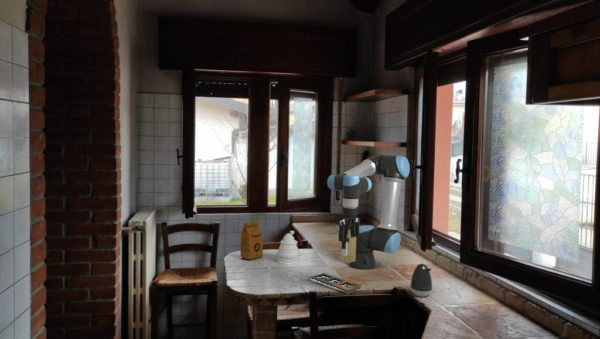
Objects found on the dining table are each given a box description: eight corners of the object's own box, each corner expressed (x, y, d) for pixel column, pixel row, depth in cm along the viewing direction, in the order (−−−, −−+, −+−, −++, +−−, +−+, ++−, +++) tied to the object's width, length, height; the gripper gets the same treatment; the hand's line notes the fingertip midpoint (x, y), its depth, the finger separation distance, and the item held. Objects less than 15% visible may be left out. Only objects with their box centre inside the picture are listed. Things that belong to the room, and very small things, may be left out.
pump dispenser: (421, 300, 214) (423, 268, 213) (405, 293, 223) (406, 262, 222) (436, 296, 220) (438, 265, 219) (419, 289, 229) (421, 259, 227)
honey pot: (300, 258, 277) (300, 229, 275) (297, 265, 264) (298, 234, 263) (278, 257, 278) (279, 228, 277) (275, 263, 266) (276, 232, 264)
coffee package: (265, 258, 276) (265, 221, 274) (248, 261, 268) (249, 224, 266) (254, 254, 283) (255, 219, 281) (238, 258, 275) (238, 221, 273)
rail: (323, 276, 245) (324, 272, 244) (360, 289, 226) (360, 285, 226) (310, 280, 238) (310, 276, 238) (347, 294, 220) (347, 289, 219)
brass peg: (347, 258, 229) (348, 234, 227) (355, 261, 225) (356, 236, 224) (340, 260, 225) (341, 236, 224) (348, 262, 222) (349, 238, 220)
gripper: (356, 204, 232) (354, 249, 234) (331, 207, 219) (329, 255, 221) (368, 206, 226) (366, 252, 228) (343, 209, 214) (341, 259, 216)
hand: (348, 254), depth 225 cm, fingers closed on brass peg, 5 cm apart
